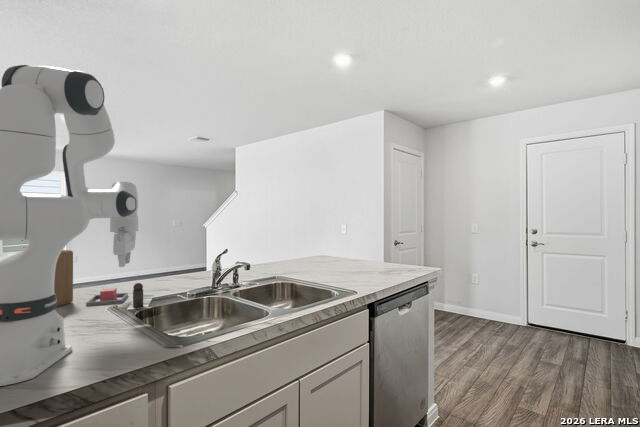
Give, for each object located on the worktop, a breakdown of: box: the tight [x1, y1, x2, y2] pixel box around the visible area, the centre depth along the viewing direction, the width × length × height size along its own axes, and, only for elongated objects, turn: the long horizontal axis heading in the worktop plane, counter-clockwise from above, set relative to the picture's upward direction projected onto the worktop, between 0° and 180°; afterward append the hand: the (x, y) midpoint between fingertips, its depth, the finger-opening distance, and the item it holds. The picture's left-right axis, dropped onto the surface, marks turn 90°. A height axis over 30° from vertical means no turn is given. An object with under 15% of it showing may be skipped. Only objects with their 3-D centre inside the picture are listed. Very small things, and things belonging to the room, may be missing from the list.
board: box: [126, 293, 155, 310], centre depth 125 cm, size 20×7×1 cm, turn 20°
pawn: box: [132, 282, 144, 309], centre depth 117 cm, size 3×3×8 cm
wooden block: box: [54, 249, 74, 308], centre depth 121 cm, size 10×10×20 cm
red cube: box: [99, 287, 118, 301], centre depth 125 cm, size 4×4×4 cm
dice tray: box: [85, 292, 129, 307], centre depth 125 cm, size 11×11×2 cm
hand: (124, 264), depth 120 cm, fingers open, 8 cm apart
